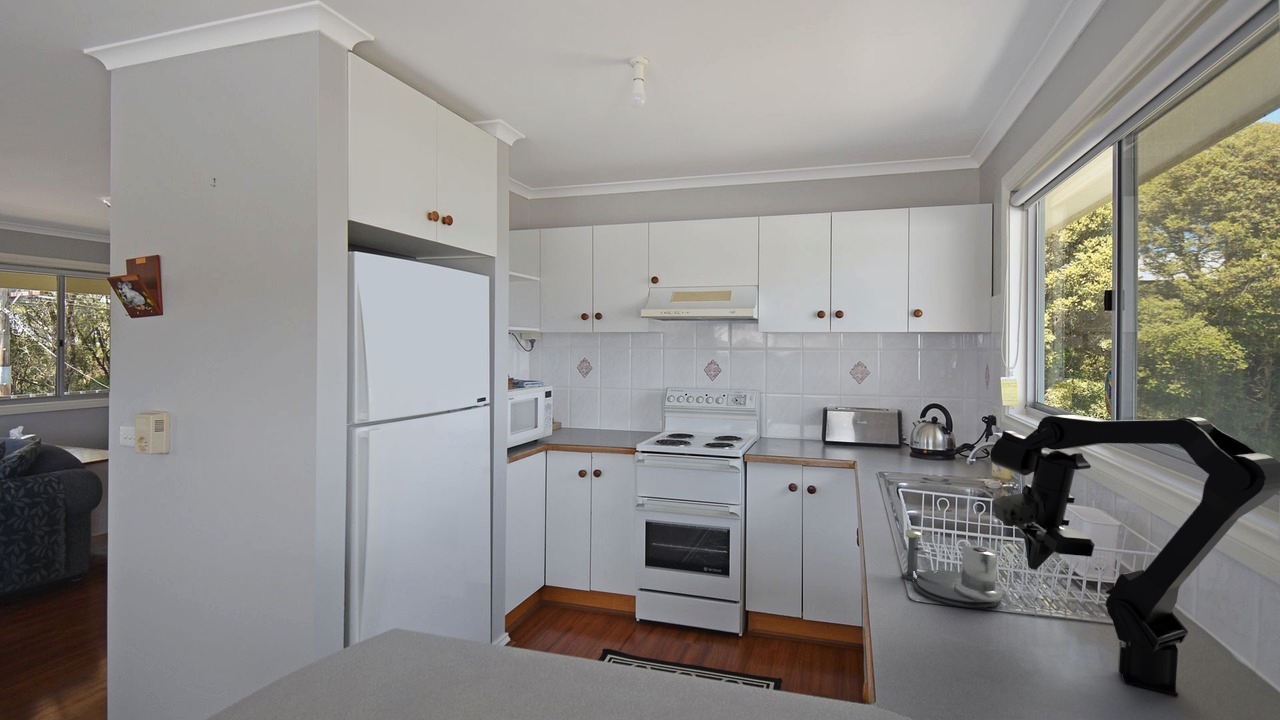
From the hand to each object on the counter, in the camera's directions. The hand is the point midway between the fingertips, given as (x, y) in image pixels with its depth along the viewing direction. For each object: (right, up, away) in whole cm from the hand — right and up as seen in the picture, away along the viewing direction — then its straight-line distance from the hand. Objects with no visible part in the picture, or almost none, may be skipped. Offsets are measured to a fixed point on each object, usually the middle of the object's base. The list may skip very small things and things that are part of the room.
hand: (1032, 568), depth 117 cm
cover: (-4, -9, +12) cm, 15 cm away
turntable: (-5, -10, +17) cm, 20 cm away
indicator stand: (-11, -10, +23) cm, 27 cm away
